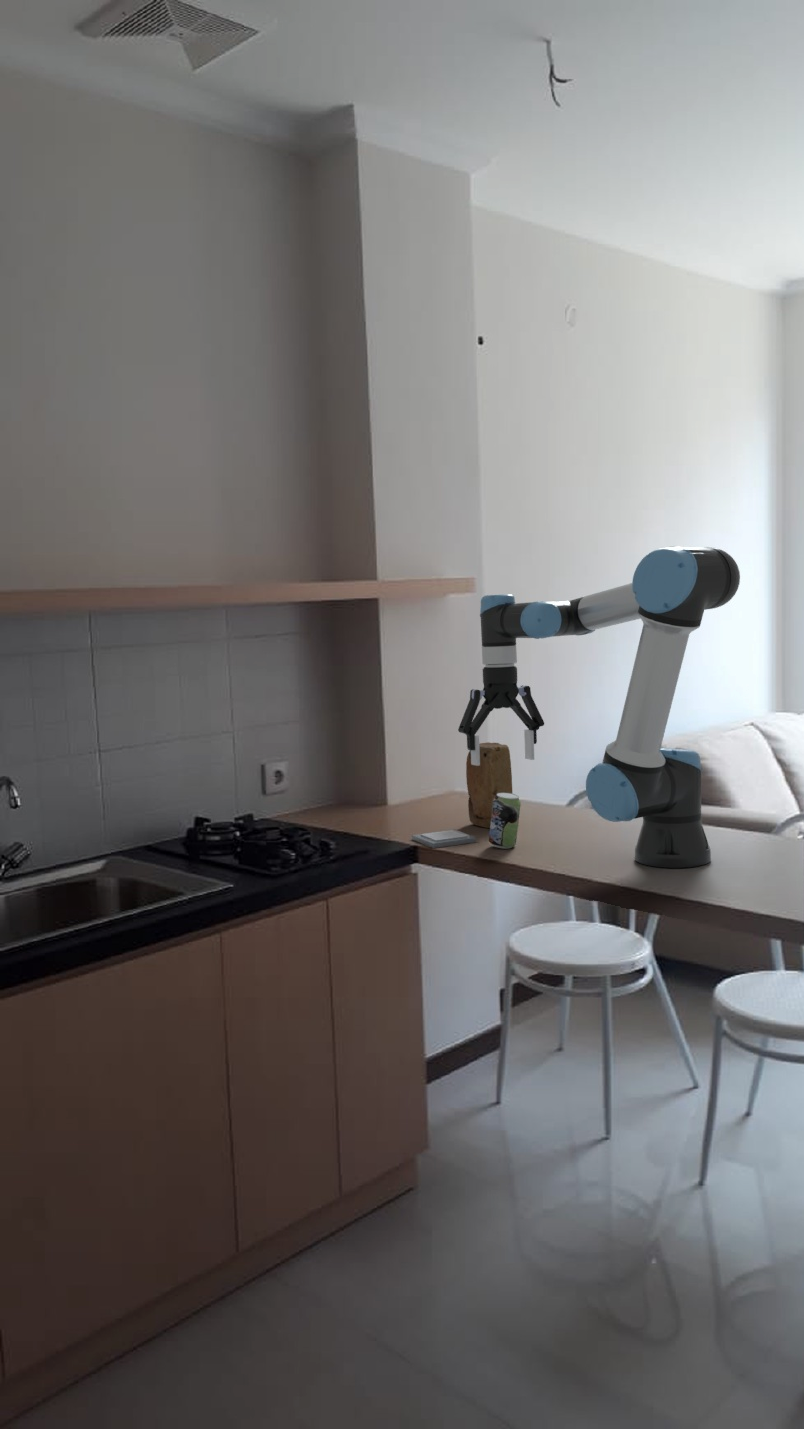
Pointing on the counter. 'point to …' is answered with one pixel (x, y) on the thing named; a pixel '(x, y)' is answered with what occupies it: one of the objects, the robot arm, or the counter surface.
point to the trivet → (444, 838)
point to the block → (487, 781)
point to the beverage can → (504, 820)
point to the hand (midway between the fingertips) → (503, 762)
